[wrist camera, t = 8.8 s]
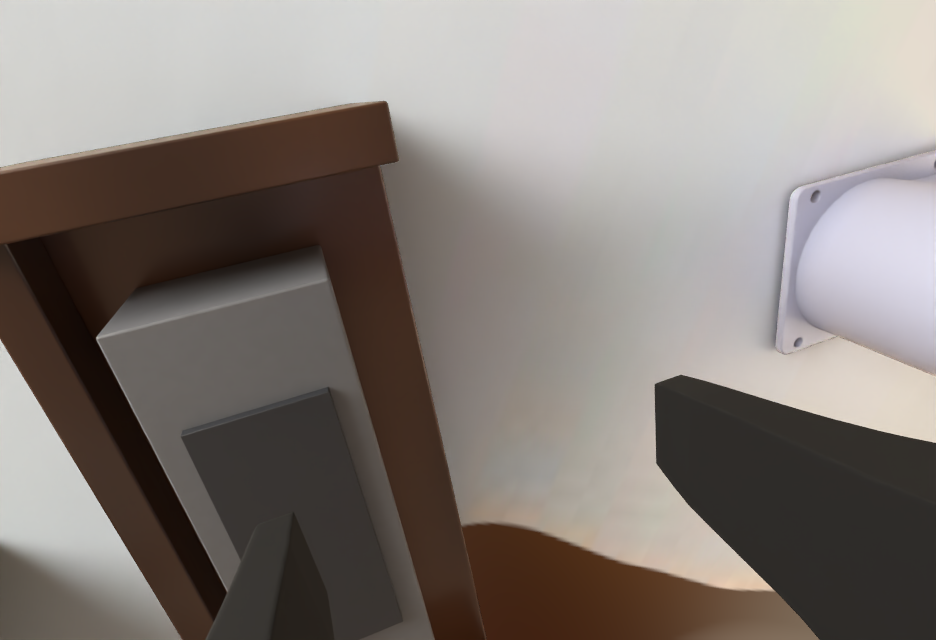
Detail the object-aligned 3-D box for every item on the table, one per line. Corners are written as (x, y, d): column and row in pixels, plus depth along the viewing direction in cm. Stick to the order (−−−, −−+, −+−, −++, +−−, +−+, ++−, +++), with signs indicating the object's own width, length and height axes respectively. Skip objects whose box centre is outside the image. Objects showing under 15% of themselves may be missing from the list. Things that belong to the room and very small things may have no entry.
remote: (319, 243, 14) (330, 281, 11) (432, 630, 21) (458, 720, 18) (134, 288, 13) (89, 342, 10) (315, 679, 20) (321, 784, 17)
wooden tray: (352, 103, 16) (387, 100, 10) (469, 601, 25) (519, 732, 20) (14, 164, 14) (-153, 198, 8) (278, 681, 23) (278, 850, 18)
